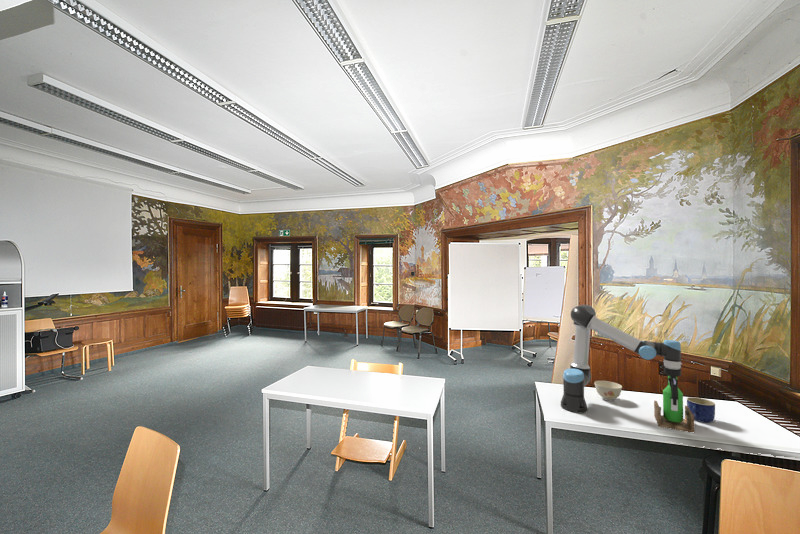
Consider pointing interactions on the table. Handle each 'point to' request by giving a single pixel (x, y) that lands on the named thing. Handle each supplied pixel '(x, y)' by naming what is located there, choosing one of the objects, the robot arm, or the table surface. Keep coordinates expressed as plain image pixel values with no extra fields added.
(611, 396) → the bowl
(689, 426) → the holder
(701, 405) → the planter
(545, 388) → the table surface
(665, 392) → the bottle
